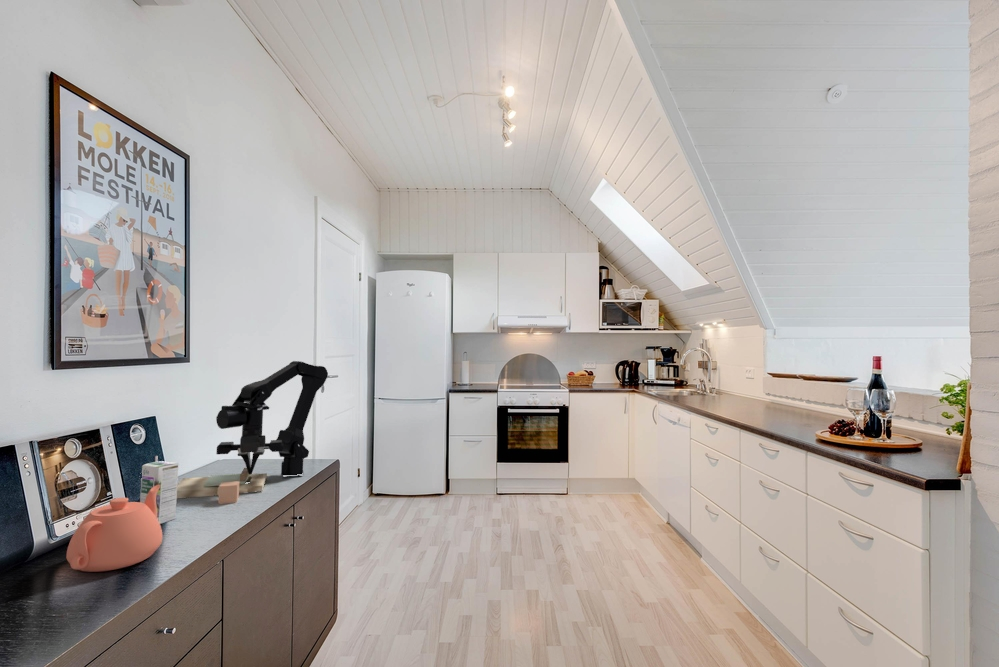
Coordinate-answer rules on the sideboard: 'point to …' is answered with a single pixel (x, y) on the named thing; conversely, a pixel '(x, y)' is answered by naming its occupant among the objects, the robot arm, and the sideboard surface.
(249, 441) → the robot arm
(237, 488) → the block
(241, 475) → the cover
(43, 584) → the sideboard surface
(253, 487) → the puzzle board
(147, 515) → the teapot
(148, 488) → the syrup box
